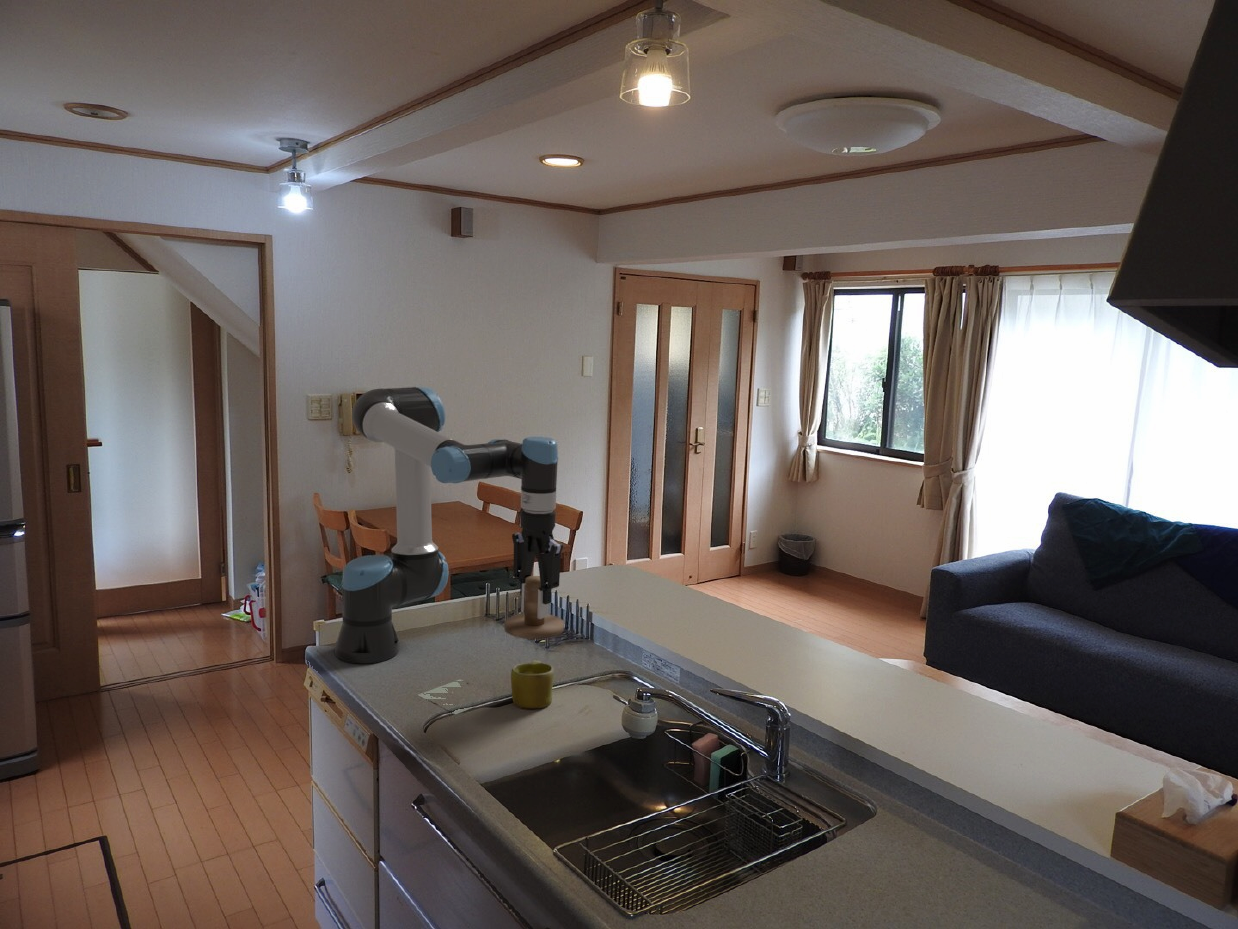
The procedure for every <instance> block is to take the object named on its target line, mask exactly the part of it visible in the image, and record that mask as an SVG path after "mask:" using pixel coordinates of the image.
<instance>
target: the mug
mask: <svg viewBox="0 0 1238 929" xmlns="http://www.w3.org/2000/svg"><path fill="white" fill-rule="evenodd" d="M510 671H511V672H510V684H511V698H512V702H513V704H514V705H515V706H516V707H518V708H521V709H524V710H534V709H542V708H547V707H549V706H550V705H551V703H552V702H553V686H554V678H555V670H554V667H553V666H552V665H551V664H548V663H544V662H541V660H532V661H531V662H527V663H526V662H524V663H518V664H516V665H514V666H512V668H511V670H510Z"/></svg>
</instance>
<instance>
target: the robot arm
mask: <svg viewBox="0 0 1238 929" xmlns="http://www.w3.org/2000/svg"><path fill="white" fill-rule="evenodd" d="M351 420H352V424H353V427H354V428H355V429H356V431H357V432H358V433H359V434H360V435H361V436H363V437H364V438H365V439H368V440H370V441H371V442H374V443H385V444H386V445H389V446H390V447H392V448H393V449H394V466H395V467H394V468H395V473H394V474H395V503H396V504H395V505H396V506H395V507H396V509H395V510H396V535H397V536H396V538H397V542H396V544H395V545H394V546H393V547H391V557H390V556H388V555H386V554H373V555H371V554H368V555H363V556H359V557H357V558H354V559H352V560H350V561H349V562H347V563H346V564H345V566H344V567H343V569H342V580H341V587H342V589H341V590H342V591H341V592H342V595H341V597H342V599H341V600H342V602H341V603H342V624H341V626H340V629H339V633H338V636H337V640H336V642H335V644H334V646H335V647H334V653H335V654H334V655H335V657H336V658H337V659H338V660H341V661H343V662H346V663H349V664H350V663H351V664H360V665H361V664H363V665H364V664H372V663H373V664H375V663H381V662H383V661H387V660H390V659H392V658H394V657H396V656H397V655H398V653H399V651H400V641H399V638H398V634H397V632H396V631H397V630H396V629H395V626H394V624H393V617H392V616H393V607H396V606H401V605H405V604H410V603H414V602H418V601H426V600H428V599H430V598H433V597H436V596H438V595H440V594H441V593H442V592H443V591H444V590H445V588H446V586H447V583H448V580H449V573H450V572H449V565H448V562H447V561H446V560H447V559H446V557H445V555H444V553H442V552H441V551H439V546H438V545H437V544H436V543H434V541H433V531H432V530H433V527H432V525H433V524H432V523H433V521H432V487H431V485H432V484H431V483H432V480H431V479H432V478H431V477H432V476H431V472H432V474H433V476H435V479H436V480H437V481H438V482H440V483H442V484H459V483H464V482H470V481H478V480H486V479H493V478H501V477H512V478H514V479H515V478H516V479H518V480H519V479H520V480H521V486H520V508H521V511H520V512H519V514H520V515H519V516H520V517H519V518H520V519H519V521H520V522H519V526H520V528H521V529H522V530H521V532H520V531H519V532H515V533H513V534H511V539H512V544H513V564H512V565H513V569H512V570H513V572H512V573H513V574H512V575H513V578H514V579H518V582H519V583H520V584H519V585H520V587H519V588H520V590H519V591H520V592H519V595H520V596H521V601H520V602H521V603H520V607H521V608H520V612H521V614H523V613H525V581H526V577H529V576H533V569H534V564H535V559H537V564H538V571H539V572H538V573H539V576H540V582H541V588H539V589H538V613H537V618H538V619H542V618H545V617H548V616H549V614H550V604H551V602H552V590H553V589H556V588H559V587H560V580H561V579H560V577H561V556H562V552H563V549H564V544H563V543H561V542H559V543H558V542H557V541H556V540H554V539H555V538H554V535H553V530H554V529H555V528H556V515H557V514H556V511H555V509H556V508H557V483H558V482H557V481H558V479H557V478H558V461H559V456H558V455H559V453H558V442H557V441H556V440H555V439H554V438H552V437H546V436H545V437H543V436H529V437H525V438H524V439H523V440H522V442H521V443H520V442H516V441H512V440H509V439H498V438H497V439H491V440H489V441H488V442H487V443H478V444H476V443H475V444H463V443H461V442H459V441H457V440H455V439H453V438H451V437H449V436H447V435H444V434H443V433H441V432H440V431H442V430H443V428H444V426H445V424H446V410H445V405H444V404H443V401H442V399H441V397H439V396H438V393H437V392H436V391H434V390H433V389H431V388H428V387H421V386H420V387H416V386H410V387H409V386H408V387H394V388H393V387H391V388H390V387H389V388H381V387H380V388H374V389H371V390H368V391H366V392H364V393H363V394H361V395H360V396H359V397H358V398H357V400H356V401H355V402H354V404H353V407H352V410H351Z"/></svg>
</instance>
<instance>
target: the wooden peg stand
mask: <svg viewBox="0 0 1238 929" xmlns="http://www.w3.org/2000/svg"><path fill="white" fill-rule="evenodd" d="M539 588H541V582H540V575H531V576H529V577H526V581H525V613H518V614H514V615H512V616H509V617H507V618H505V620H504V622H503V623H504V627H503V628H504V631H505V633H507V634H508V635H510V636H513V637H514V638H516V637H517V638H521V639H527V640H543V639H544V640H545V639H549V638H554V637H557V636H559V635H560V634H562V633H563V632H564V630H565V621H564V620H563V619H561V617H558V616H556V615H552V614H550V613H549V616H548V617H545V618H542V619H538V618H537V613H538V589H539Z"/></svg>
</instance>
